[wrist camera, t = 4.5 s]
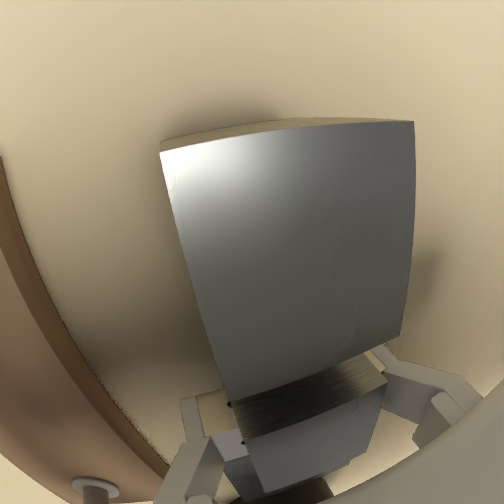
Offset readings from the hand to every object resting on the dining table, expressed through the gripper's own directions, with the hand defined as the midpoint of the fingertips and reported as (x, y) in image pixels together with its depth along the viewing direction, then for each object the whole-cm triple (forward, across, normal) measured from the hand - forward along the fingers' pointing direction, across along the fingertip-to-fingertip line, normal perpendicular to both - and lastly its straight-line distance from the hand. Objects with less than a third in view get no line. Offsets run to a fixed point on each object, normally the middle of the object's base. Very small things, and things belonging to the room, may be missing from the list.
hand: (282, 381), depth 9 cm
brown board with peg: (+2, +10, 0) cm, 11 cm away
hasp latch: (+2, 0, +1) cm, 2 cm away
